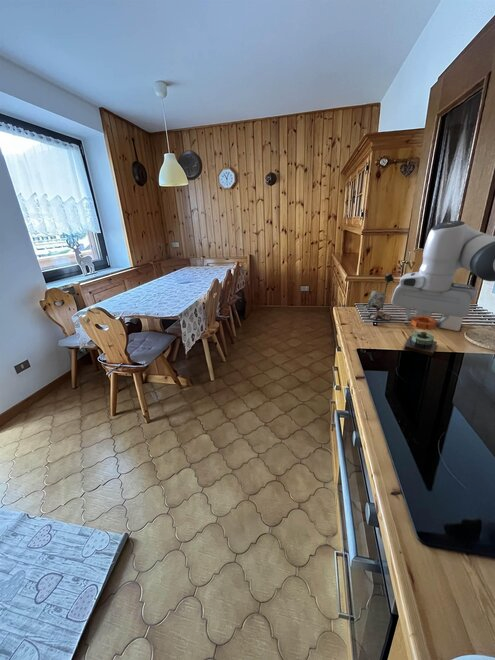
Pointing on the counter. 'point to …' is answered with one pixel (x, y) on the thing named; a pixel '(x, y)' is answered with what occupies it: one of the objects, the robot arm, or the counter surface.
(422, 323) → the orange ring
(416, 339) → the sage ring
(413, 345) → the charcoal ring
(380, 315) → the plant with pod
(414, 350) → the spindle
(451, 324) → the medicine bottle
